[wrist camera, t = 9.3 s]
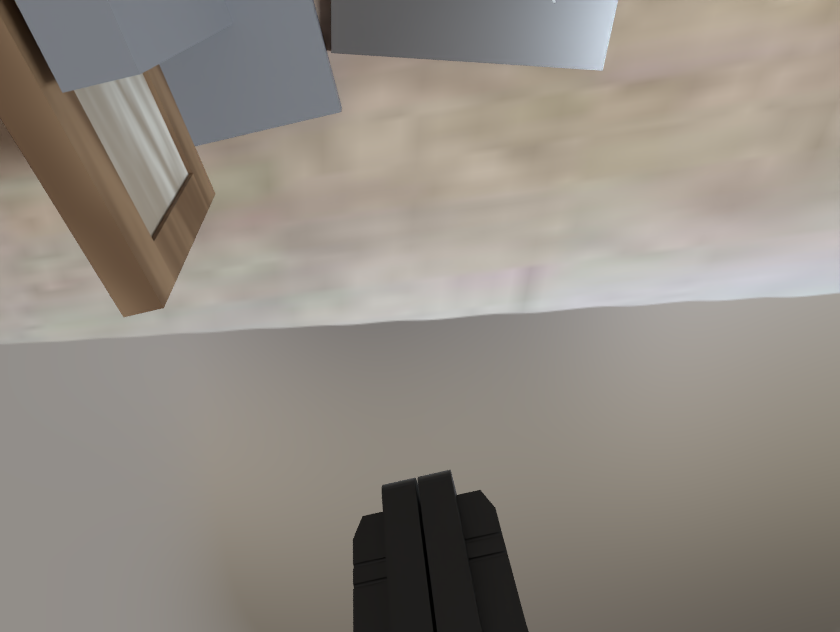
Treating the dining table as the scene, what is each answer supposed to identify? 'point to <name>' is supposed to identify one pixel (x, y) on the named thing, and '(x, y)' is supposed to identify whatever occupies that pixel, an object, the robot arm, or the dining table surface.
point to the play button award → (477, 30)
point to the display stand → (196, 56)
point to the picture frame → (108, 166)
